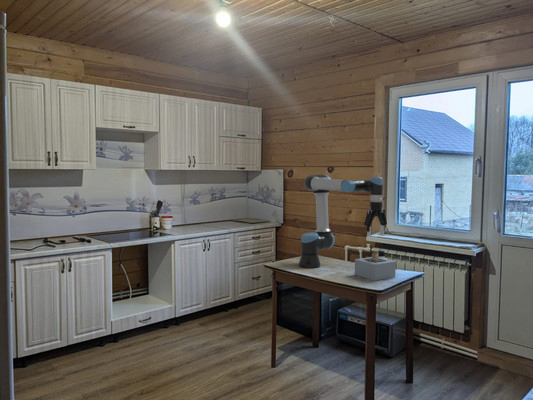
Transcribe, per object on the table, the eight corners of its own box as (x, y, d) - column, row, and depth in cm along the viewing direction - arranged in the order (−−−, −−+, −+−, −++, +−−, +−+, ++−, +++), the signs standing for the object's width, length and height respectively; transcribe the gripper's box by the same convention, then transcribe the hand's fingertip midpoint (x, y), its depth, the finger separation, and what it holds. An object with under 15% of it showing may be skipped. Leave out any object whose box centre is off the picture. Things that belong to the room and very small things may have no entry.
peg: (370, 264, 271) (370, 250, 271) (374, 264, 273) (375, 250, 273) (375, 265, 268) (375, 251, 267) (379, 265, 270) (379, 251, 269)
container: (387, 270, 287) (388, 251, 286) (377, 271, 284) (378, 251, 284) (381, 267, 294) (381, 249, 293) (371, 268, 292) (371, 249, 291)
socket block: (354, 274, 274) (354, 258, 273) (374, 271, 283) (374, 256, 283) (375, 280, 259) (375, 263, 258) (395, 277, 268) (395, 260, 267)
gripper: (367, 202, 259) (366, 238, 260) (393, 201, 270) (392, 235, 272) (358, 201, 265) (358, 236, 266) (384, 200, 277) (383, 234, 278)
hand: (375, 236), depth 269 cm, fingers open, 10 cm apart
